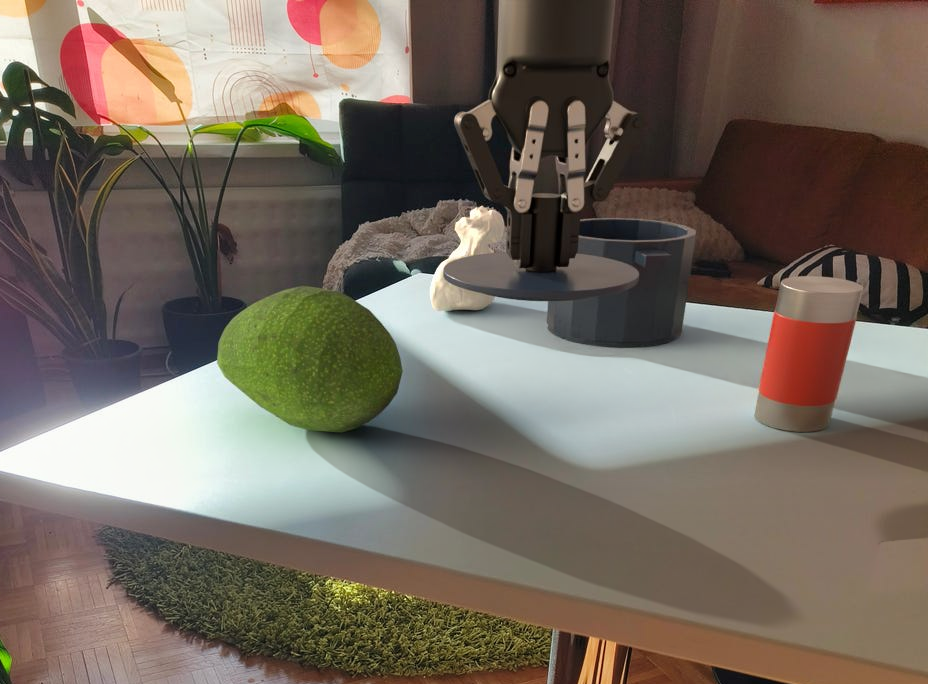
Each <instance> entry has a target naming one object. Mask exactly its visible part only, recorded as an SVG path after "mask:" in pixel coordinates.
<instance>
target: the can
mask: <svg viewBox="0 0 928 684" xmlns="http://www.w3.org/2000/svg"><path fill="white" fill-rule="evenodd" d="M779 284H780V285H779V290H778V294H777V298H776V299H777V300H776V304H775V308H774V311H773V316H772V322H771V326H770V330H769V335H768V340H767V346H766V350H765V351H766V352H765V356H764V361H763V365H762V371H761V375H760V380H759V385H758V394H757V399H756V404H755V409H754V413H753V416H754V419H755V420H756V421H757V422H758V423H761V424H762V425H764V426H767V427H770V428H773V429H776V430H782V431H786V432H787V431H788V432H796V433H797V432H798V433H806V432H807V433H810V432H818V431H822V430H825V429H826V428H828V427H829V426H830V423H831V419H832V415H833V411H834V407H835V403H836V400H837V398H838V395H839V390H840V386H841V383H842V379H843V374H844V370H845V366H846V363H847V358H848V355H849V350H850V347H851V342H852V338H853V334H854V332H855V331H854V330H855V326H856V323H857V318H858V312H859V308H860V304H861V299H862V296H863V292H864V286H863V285H861V284H860V283H857V282H856V281H852V280H848V279H843V278H839V277H838V278H836V277H830V276H819V275H818V276H817V275H815V276H814V275H801V276H799V275H798V276H790V277H786V278H783V279H782V280H781V282H780V283H779Z"/></svg>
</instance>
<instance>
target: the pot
mask: <svg viewBox="0 0 928 684" xmlns="http://www.w3.org/2000/svg"><path fill="white" fill-rule="evenodd" d="M696 237H697V230H696V229H695V228H692V227H689V226H688V225H684V224H679V223H675V222H671V221H665V220H663V221H662V220H655V219H644V218H626V217H601V218H600V217H599V218H597V217H595V218H594V217H593V218H583V219H581V218H580V227H579V240H578V251H577V254H585V255H592V256H598V257H604V258H608V259H613V260H616V261H620V262H623V263H626V264H628V265H630V266H632V267H634V268H635V269H637V271H638V272H639V281H638V283H637V284H636V285H635V286H634V287H632V288H630V289H628V290H625V291H622V292H618V293H614V294H609V295H603V296H597V297H593V298H587V299H581V300H571V301H547V309H546V310H547V311H546V325H547V327H546V328H547V330H548V332H550V333H551V334H552V335H554V336H556V337H559V338H560V339H564V340H567V341H569V342H574V343H577V344H583V345H590V346H599V347H606V348H608V347H609V348H611V347H612V348H644V347H651V346H658V345H664V344H667V343H671V342H673V341H675V340H677V339H678V338H680V337H681V334H682V332H683V327H684V321H685V320H684V319H685V313H686V306H687V299H688V293H689V286H690V285H689V284H690V278H691V271H692V267H693V266H692V264H693V257H694V251H695V245H696Z"/></svg>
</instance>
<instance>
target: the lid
mask: <svg viewBox="0 0 928 684" xmlns="http://www.w3.org/2000/svg"><path fill="white" fill-rule="evenodd" d="M561 199H562V196H561V195H559V193H558V194H557V193H549V192H546V193H545V192H543V193H542V192H541V193H540V192H539V193H532V198H531V205H530V208H529V209H528V212H529V213H531V214H532V226H531V245H530V263H529V267H528V268H518V267H517V266H515V265H514V260H512V259H511V258H510V257H509V256H508V254H507V251H499V252H494V253H486V254H479V255H473V256H467V257H463V258H460V259H456V260H454V261H451V262H449V263H448V264H446V265H445V266H444V269H443V276H444V278H445V280H446V281H447V282H449V283H451V284H452V285H455V286H457V287H460V288H463V289H466V290H470V291H475V292H479V293H483V294H486V295H490V296H494V297H495V298H499V299H506V300H514V301H525V302H548V301H571V300H581V299H587V298H593V297H597V296H603V295H609V294H614V293H618V292H622V291H625V290H628V289H630V288H632V287H634V286H635V285H636V284H637V283H638V281H639V272H638V271H637V269H635V268H634V267H632V266H630V265H628V264H626V263H623V262H620V261H616V260H613V259H608V258H604V257H598V256H592V255H585V254H576V256H575V258H570V259H569V265H568V267H557V257H558V243H559V228H560V214H561Z"/></svg>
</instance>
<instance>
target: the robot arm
mask: <svg viewBox="0 0 928 684" xmlns="http://www.w3.org/2000/svg"><path fill="white" fill-rule="evenodd" d="M615 10H616V0H498V18H497V19H498V21H497V22H498V23H497V27H498V28H497V50H496V51H497V55H496V56H497V58H496V74H495V78H494V81H493V84H492V85H491V87H490V89H489V93H488V99H487V100H486V101H484V102H482V103H480V104H479V105H477V106H476V107H474V108H472V109H470V110H469V111H459V112H457V114H456V115H455V116H454V119H453V124H454V128H455V130H456V132H457V134H458V137H459V139H460V142H461V145H462V146H463V149H464V152H465V154H466V156H467V159H468V161H469V163H470V167H471V168H472V170H473V172H474V176H475V177H476V180H477V182H478V184H479V187H480V189H481V191H482V193H483V196H484V197H485V198H487V199H488V200H489V201H491V202H492V203H494V204H498V205H500V206H503V207H504V208H505V210H506V213H507V215H506V216H507V217H506V236H505V237H506V238H505V239H506V242H505V252H507V254H508V256H509V257H510V258H511V259H512V260H514V265H515V266H517V267H518V268H528V267H529V263H530V245H531V226H532V214H531V213H529V212H528V209H529V208H530V205H531V198H532V194H533V192H534V186H535V180H536V178H537V176H538V172H539V166H540V160H541V159H542V158H545V157H549V156H554V159H555V160H554V161H555V171H556V174H557V187H558V195H561V196H562V199H561V214H560V228H559V243H558V257H557V267H568V265H569V259H570V258H575V256H576V254H577V251H578V240H579V227H580V220H581V215H582V212H583V210H585V208H586V207H587V206H589V205H592V204H593V203H596V202H597V203H602V202H604V201H606V200H607V199H608V197H609V196H610V193H611V191H612V190H613V188H614V186H615V184H616V182H617V181H618V179H619V177H620V175H621V172H622V171H623V169H624V167H625V165H626V163H627V161H628V159H629V157H630V155H631V153H632V151H633V150H634V148H635V146H636V144H637V142H638V140H639V138H640V137H641V135H642V132H643V131H644V129H645V127H646V118H645V116H644V115H643V114H641V113H639V112H635V111H631V110H629V109H627V108H626V107H624V106H623V105H621V104H620V103H619V102H617V101H615V100H614V98H615V97H614V90H613V87H612V85H611V81H610V74H609V72H610V63H611V55H612V45H613V44H612V43H613V32H614V22H615ZM494 118H495V119H496V120H497V122H498V124H499V126H500V127H501V129H502V131H503V132H504V135H505V136H506V138H507V139H508V141H509V143H510V145H511V152H510V160H509V178H508V186H507V185H505V184H504V182H503V180H502V177H501V174H500V172H499V170H498V166H497V165H496V162H495V159H494V157H493V154H492V152H491V150H490V147H489V145H488V143H487V142H489V141H490V140H491V138H492V135H493V128H492V122H493V119H494ZM604 119H605V126H604V129H603V133H604V137H605V138H606V140H605V143H604V144H603V146H602V149H601V150H600V151H599V154H598V156H597V158H596V160H595V162H594V164H593V166H592V168H591V170H590V172H589V174H588V176H587V177H586V179H585V174H586V171H587V170H586V169H587V166H586V165H587V163H586V145H587V144H588V142H589V141H590V139H591V138H592V137H593V135H594V134H595V132H596V131H597V130H598V128H599V126H600V125H601V123H603V120H604Z"/></svg>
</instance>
